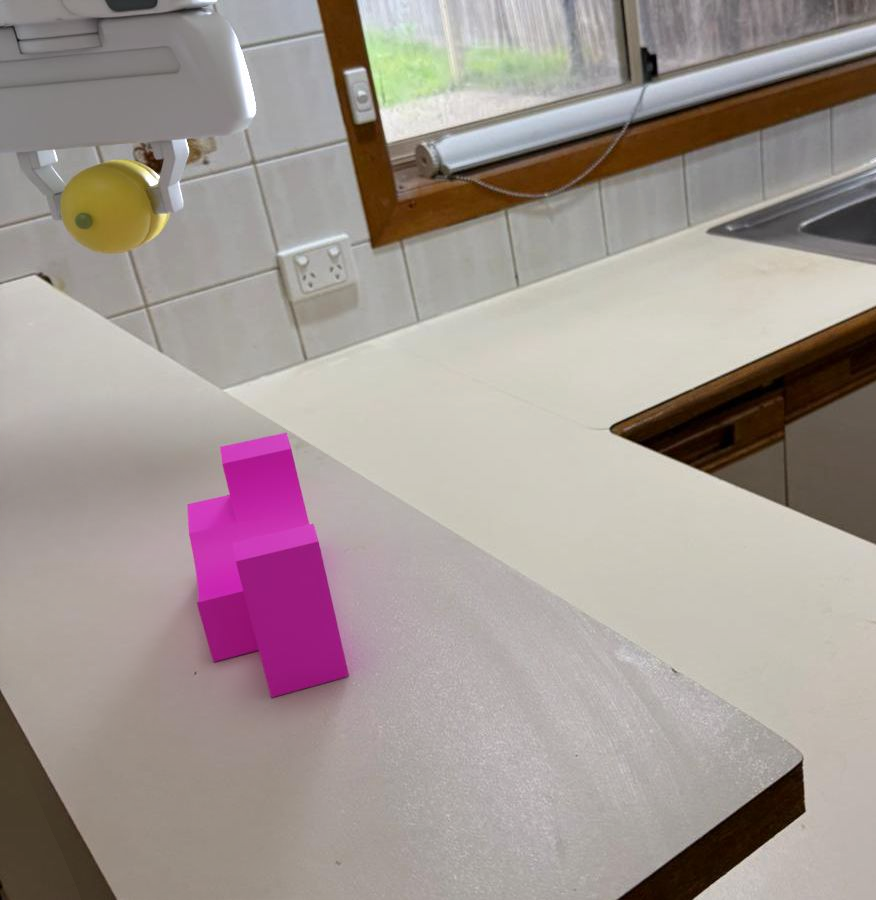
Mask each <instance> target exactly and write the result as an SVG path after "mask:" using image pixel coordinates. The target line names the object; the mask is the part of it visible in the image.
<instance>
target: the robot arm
mask: <svg viewBox="0 0 876 900" xmlns="http://www.w3.org/2000/svg"><path fill="white" fill-rule="evenodd" d="M217 1H218V0H0V155H8V154H16V158H17V161H18V165H19V169H20V171H21V172H22V173H23V174H24V175H25V177H26V178H27V179H28V180H29V181H30V182H31V183H32V184H33V186H35V187H36V188H37V190H38V191H39V192H40V193H41V194H42V195H43V196H45V197H46V201H47V204H48V207H49V211H50V215H51V218H52V220H53V221H55V222H63V220H62V217H61V211H60V204H61V197H62V193H63V191H64V189H65V187H66V185H67V184H66V183H65V182H64V180H63V179H62V178H61V176H60V175H59V174H58V172H57V171H56V170H55V169H54V168H53V165H55V164H57V163H58V157H57V154H56V151H57V150H67V149H68V150H69V149H80V148H81V149H82V148H91V147H92V148H93V147H104V146H117V145H128V144H141V143H150V146H151V150H152V154H153V158H154V159H155V160H157V161H158V160H163V162H162V166H161V169H160V174H159V181H158V183H157V184H154V185H153V186H150V187H147V188H146V191H147V196H148V198H149V200H150V201H151V207H152V211H153V213H154V214H166V213H170V214H176V213H178V212H180V211H182V210H184V207H185V202H184V197H183V193H182V189H181V185H180V182H181V180H182V177H183V175H184V172H185V171H184V170H185V168H186V165H187V162H188V159H189V154H190V148H189V145H188V141H187V140H189V139H201V138H203V139H204V138H213V137H214V138H215V137H227V136H232V135H235V134H237V133H241V132H243V131H245V130H247V129H248V128H249V127H250V126H251V124H252V122H253V120H254V117H255V115H256V111H257V109H256V107H257V106H256V101H255V94H254V91H253V87H252V83H251V79H250V78H251V77H250V75H249V70H248V68H247V67H248V66H247V64H246V61H245V57H244V54H243V51H242V49H241V46H240V43H239V40H238V37H237V35H236V32H235V31H234V29H233V27H232V25H231V24H230V22H229V21H228V20H227V19H226V18H225V17H224V16H223V15H222V14H221V13H220V12H218V11H216V10H214V9H211V8H208V7H211V6H213V5H215V4H216V3H217Z"/></svg>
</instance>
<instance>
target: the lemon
mask: <svg viewBox="0 0 876 900" xmlns="http://www.w3.org/2000/svg"><path fill="white" fill-rule="evenodd" d="M159 177H160V174H159V173H157V172H156V171H155V170H154V169H152V168H151V167H150V166H148V165H146V164H144V163H142V162H140V161H136V160H131V159H126V158H117V159H111V160H107V161H104V162H100V163H99V164H95V165H93V166H90V167H87V168H85V169H83V170H81V171H79V172H78V173H76V174H75V175H74V176H72V177H71V178H70V180H69V181H68V182H67V184H66V187H65V189H64V191H63V193H62V197H61V204H60V211H61V217H62V220H63V221H62V223H63V225H64V227H65V229H66V231H67V232H68V233H69V234H70V236H71V237H72V239H74V241H76V242H77V243H78V244H80V245H81V246H83V247H84V248H86V249H87V250H89V251H92V252H94V253H98V254H103V255H119V254H124V253H127V252H130V251H132V250H135V249H136V248H138V247H140V246H142V245H144V244H146V243H148V242H150V241H151V240H153V239H154V238H156V237H157V236H158V235H159V234H160V233H161V232H162V231H163V230H164V228H165V227H166V226H167V223H168V221H169V219H170V215H171V213H166V214H154V213H153V211H152V207H151V201H150V200H149V198H148V196H147V191H146V188H147V187H150V186H153V185H154V184H157V183H158V181H159Z"/></svg>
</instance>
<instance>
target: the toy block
mask: <svg viewBox="0 0 876 900" xmlns="http://www.w3.org/2000/svg"><path fill="white" fill-rule="evenodd" d="M290 442H291V441H290V440H289V436H288V433H287V432H282V433H278V434H273V435H268V436H264V437H259V438H253V439H250V440H245V441H240V442H236V443H231V444H226V445H222V446H219V450H220V457H221V464H222V468H223V472H224V476H225V481H226V484H227V485H226V486H227V489H228V494H226V495H221V496H217V497H213V498H209V499H205V500H200V501H199V500H198V501H195V502H191V503H187V504H186V505H187V506H186V508H187V523H188V537H189V541H190V547H191V551H192V557H193V562H194V569H195V576H196V583H197V593H198V594H197V596H198V597H197V602H196V605H197V610H198V613H199V616H200V620H201V623H202V626H203V631H204V634H205V639H206V641H207V644H208V648H209V652H210V655H211V659H212V662H213V663H216V662H219V661H222V660H223V661H224V660H226V659H227V660H228V659H230V658H234V657H238V656H242V655H246V654H251V653H253V652H258V653H259V656H260V660H261V664H262V668H263V672H264V676H265V679H266V683H267V687H268V691H269V695H270V698H271V699H272V698H275V697H279V696H283V695H286V694H289V693H290V694H291V693H294V692H297V691H301V690H304V689H308V688H311V687H315V686H318V685H322V684H325V683H329V682H333V681H336V680H340V679H344V678H347V677H349V676H350V673H349V669H348V665H347V661H346V656H345V652H344V648H343V643H342V639H341V634H340V629H339V625H338V621H337V616H336V613H335V607H334V603H333V599H332V594H331V591H330V585H329V582H328V577H327V572H326V567H325V563H324V559H323V553H322V550H321V545H320V540H319V538H318V534H317V529H316V528H315V524H314V523H311V524H310V521H309V517H308V512H307V509H306V505H305V500H304V496H303V491H302V487H301V484H300V480H299V476H298V471H297V467H296V462H295V459H294V455H293V454H294V453H293V450H292V449H293V448H292V446H291V443H290Z"/></svg>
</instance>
